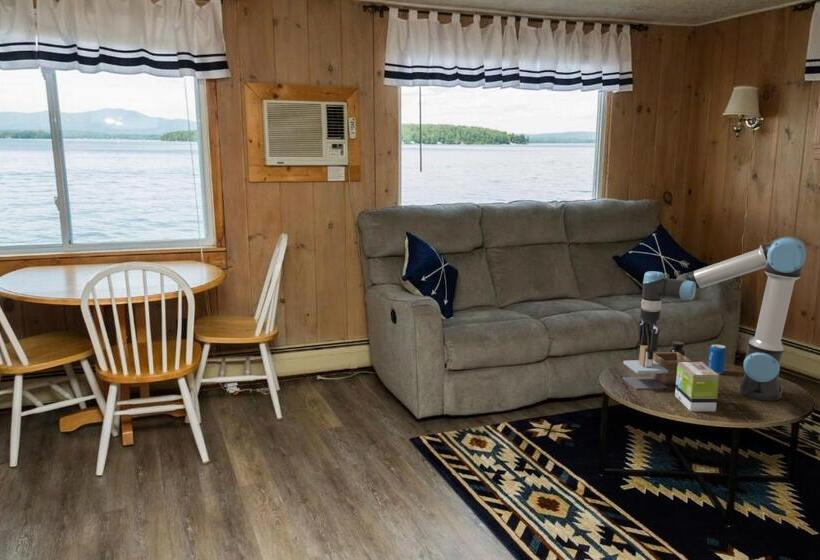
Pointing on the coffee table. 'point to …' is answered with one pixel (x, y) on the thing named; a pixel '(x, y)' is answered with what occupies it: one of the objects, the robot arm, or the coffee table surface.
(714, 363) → the beverage can
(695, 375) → the tea box
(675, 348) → the supplement bottle
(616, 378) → the coffee table surface
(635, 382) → the mat
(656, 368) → the lid
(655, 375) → the box
